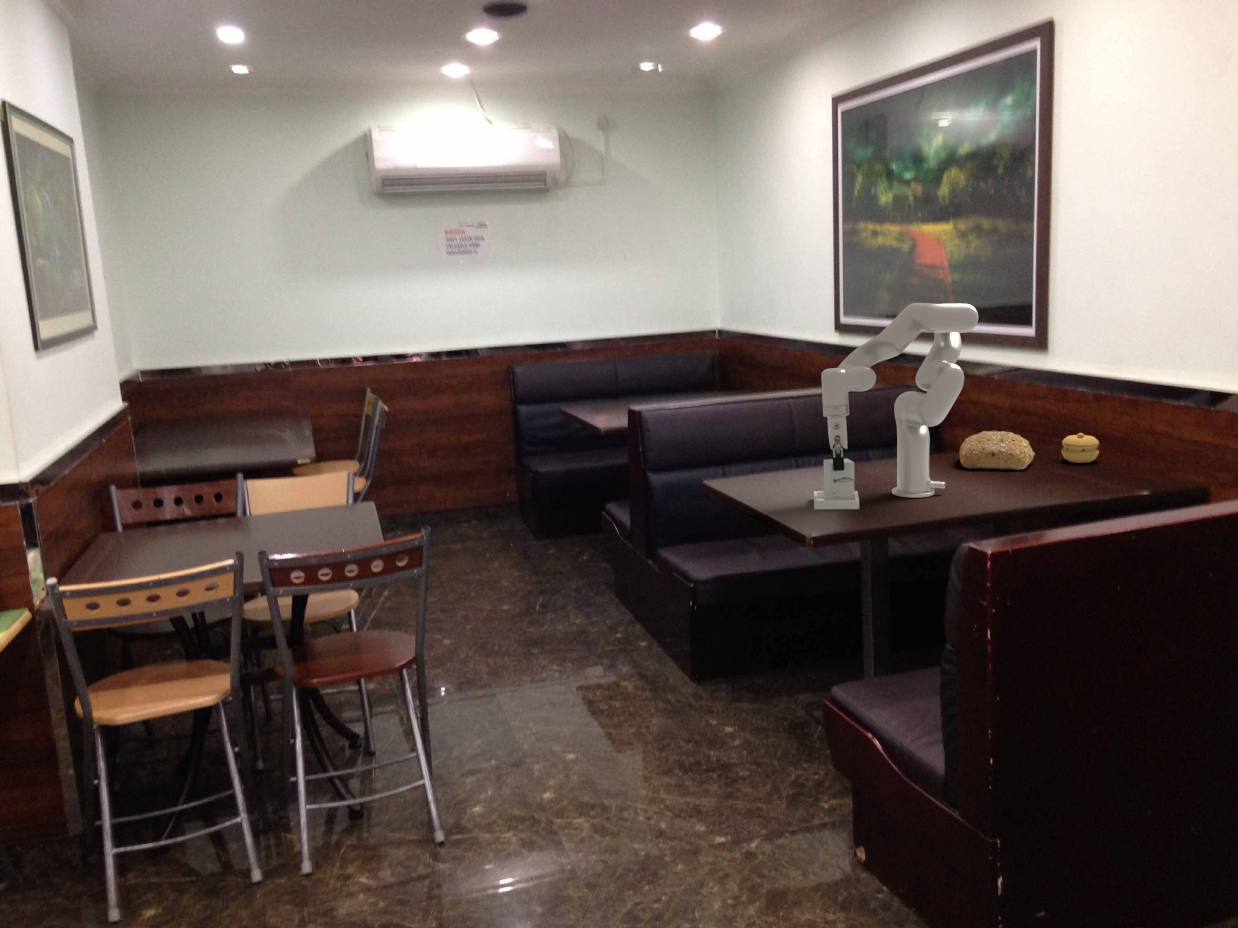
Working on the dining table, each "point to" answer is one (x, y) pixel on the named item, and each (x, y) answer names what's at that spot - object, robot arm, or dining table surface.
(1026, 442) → the bread
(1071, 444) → the pot
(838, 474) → the supplement box
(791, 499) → the dining table surface
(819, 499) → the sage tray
